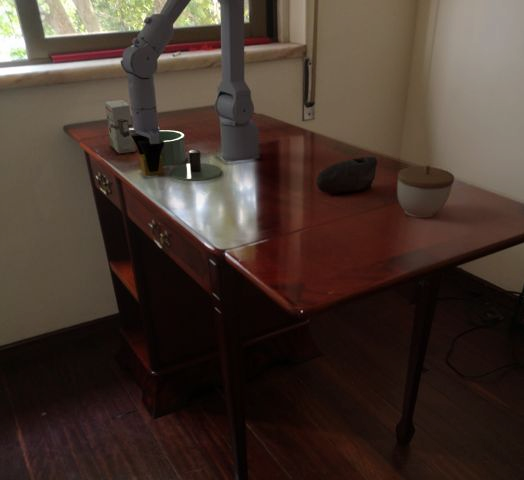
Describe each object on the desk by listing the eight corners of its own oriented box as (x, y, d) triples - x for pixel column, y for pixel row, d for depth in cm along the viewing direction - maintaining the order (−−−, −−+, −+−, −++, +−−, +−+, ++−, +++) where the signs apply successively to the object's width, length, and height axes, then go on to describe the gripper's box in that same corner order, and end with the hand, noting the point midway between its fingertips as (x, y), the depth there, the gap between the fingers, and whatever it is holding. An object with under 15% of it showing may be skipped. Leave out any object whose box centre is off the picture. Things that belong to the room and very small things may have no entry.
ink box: (110, 146, 149) (103, 101, 142) (127, 144, 151) (121, 99, 144) (118, 154, 143) (111, 107, 136) (136, 151, 145) (130, 105, 138)
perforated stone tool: (320, 199, 115) (322, 166, 111) (310, 191, 119) (312, 159, 115) (381, 191, 119) (385, 159, 115) (369, 184, 123) (373, 153, 119)
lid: (211, 165, 135) (209, 142, 132) (228, 179, 126) (227, 155, 123) (164, 171, 131) (162, 147, 127) (179, 186, 122) (177, 161, 118)
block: (158, 170, 131) (156, 152, 128) (163, 175, 128) (161, 157, 125) (141, 173, 130) (138, 154, 127) (145, 178, 126) (143, 159, 124)
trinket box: (437, 226, 103) (447, 178, 97) (385, 215, 107) (391, 168, 102) (452, 209, 110) (462, 163, 105) (403, 199, 115) (410, 155, 109)
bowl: (178, 153, 143) (176, 128, 140) (191, 165, 135) (189, 138, 131) (137, 158, 139) (133, 133, 136) (148, 170, 131) (144, 143, 127)
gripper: (119, 102, 124) (127, 161, 132) (133, 115, 113) (141, 178, 121) (148, 100, 126) (154, 158, 134) (165, 112, 115) (171, 175, 123)
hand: (150, 168), depth 128 cm, fingers open, 5 cm apart
